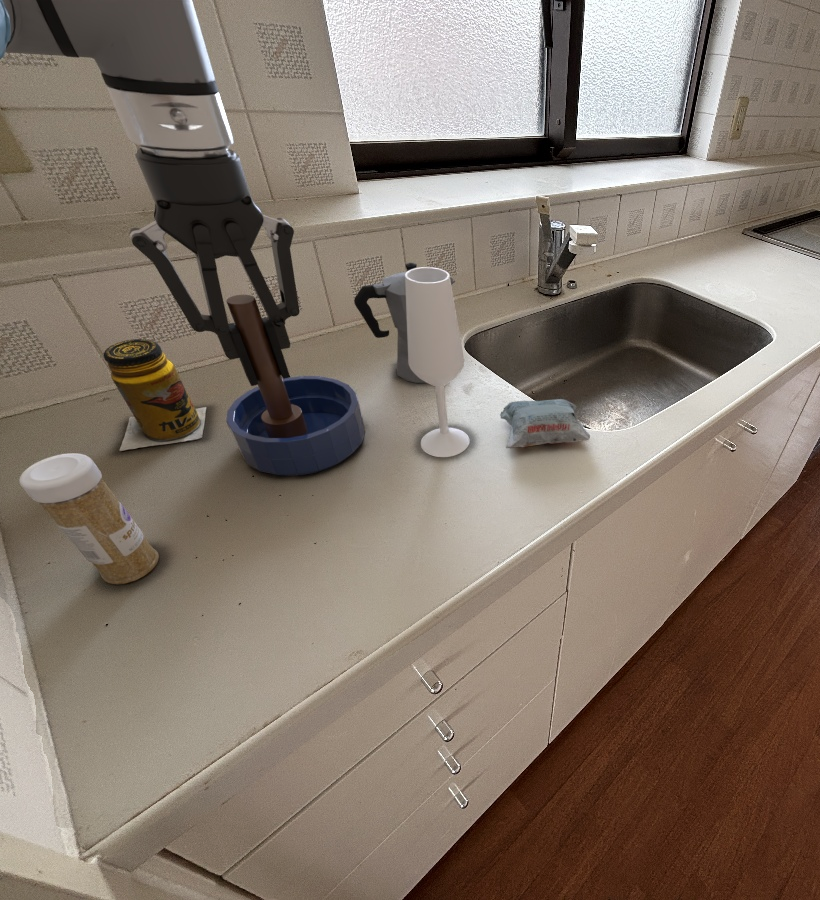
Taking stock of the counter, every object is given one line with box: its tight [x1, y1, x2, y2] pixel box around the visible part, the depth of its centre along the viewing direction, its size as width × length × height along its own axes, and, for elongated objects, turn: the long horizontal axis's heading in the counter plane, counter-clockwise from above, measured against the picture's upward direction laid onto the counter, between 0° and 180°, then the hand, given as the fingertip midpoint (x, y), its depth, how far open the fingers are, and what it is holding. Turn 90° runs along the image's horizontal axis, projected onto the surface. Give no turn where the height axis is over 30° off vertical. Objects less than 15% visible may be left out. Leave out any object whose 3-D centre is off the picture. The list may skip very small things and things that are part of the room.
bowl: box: [225, 375, 366, 477], centre depth 65 cm, size 15×15×6 cm
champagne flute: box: [405, 266, 470, 458], centre depth 63 cm, size 7×7×24 cm
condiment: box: [103, 338, 207, 452], centre depth 62 cm, size 7×8×12 cm
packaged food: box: [499, 398, 591, 449], centre depth 72 cm, size 9×12×5 cm
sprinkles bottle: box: [18, 452, 160, 585], centre depth 46 cm, size 5×5×14 cm
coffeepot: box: [353, 262, 456, 384], centre depth 78 cm, size 15×9×18 cm, turn 129°
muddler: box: [226, 294, 307, 438], centre depth 58 cm, size 4×4×18 cm
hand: (268, 375), depth 59 cm, fingers closed on muddler, 3 cm apart
